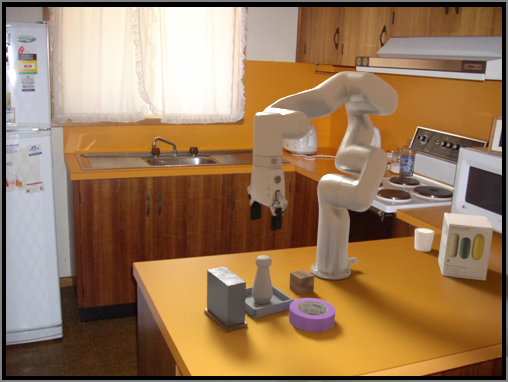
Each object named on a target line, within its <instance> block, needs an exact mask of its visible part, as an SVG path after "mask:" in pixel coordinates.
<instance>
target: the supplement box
mask: <svg viewBox="0 0 508 382" xmlns="http://www.w3.org/2000/svg"><path fill="white" fill-rule="evenodd" d="M493 233H494V227H493V225H492V224H491V222H490V221H489V219H488V217H487V216H486V215H477V214H475V215H474V214H473V215H472V214H466V213H453V212H451V213H450V212H444V214H443V221H442V227H441V234H440V235H441V237H440V242H439V243H440V244H439V251H438V258H437V259H438V260H437V262H438V265H439V268H440V273H441V275H442V276H443V277H450V278H458V279H459V278H460V279H461V278H462V279H468V280H477V281H487V273H488V268H489V267H488V266H489V260H490V253H491V245H492V241H493Z"/></svg>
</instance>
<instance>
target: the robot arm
mask: <svg viewBox="0 0 508 382" xmlns="http://www.w3.org/2000/svg"><path fill="white" fill-rule="evenodd" d="M398 105H399V95H398V92H397V91H396V89H395V88H394V87H393V86H392V85H390V84H389V83H387V82H386V81H385V80H384V79H382V78H381V77H379V76H378V75H376V74H375V73H372V72H369V71H355V70H354V71H351V70H349V71H348V70H347V71H346V70H345V71H340V72H338V73H335V74H334V75H333V76H331V77H329V78H328V79H326V80H324V81H323V82H322V83H319V85H316V86H315V87H314V88H312V89H308V90H304V91H302V92H298V93H295V94H292V95H288V96H286V97H282V98H280V99H278V100H277V101H275V102H274V103H272V104H270V105H269V106H268V107H266V108H265V109H264V110H263V111H260V112H256V113H255V115H254V116H253V129H252V130H253V134H252V136H253V140H252V167H251V176H250V184H249V185H248V186H247V187H246V190H247V194H248V195H247V196H248V197H247V198H248V199H249V202H248V203H249V207H250V211H249V214H250V215H249V220H251V221H254V220H255V221H256V220H260V219H262V205H263V206H265V207H267V208H269V210H270V212H271V215H270V227H269V228H270V230H271V231H278V230H281V229H282V227H283V226H282V225H283V216H284V214H285V212H286V208H287V206H288V200H287V199H286V184H285V180H286V179H285V172H284V168H283V166H282V165H283V147H284V146H283V145H284V143H283V142H284V140H292V141H298V140H302V139H304V138H305V137H307V135H308V134H309V133H310V131H311V128H312V121H311V119H318V118H325V117H328V116H330V115H332V114H333V113H334V112H336V111H337V110H338V109H340V108H342V106H344V107H345V110H346V111H345V112H346V115H347V128H346V131H345V133H344V136H343V138H342V140H341V143H340V145H339V148H338V150H337V152H336V155H335V157H334V158H335V159H334V166H335V168H336V169H337V170H338V171H340V172H341V173H346V174H349V175H344V174H339V173H327V174H324V175H323V176H322V177H321V178H320V179H319V180H318V183H317V187H316V191H317V192H316V193H317V198H318V199H317V201H318V227H317V241H316V256H315V258H316V259H315V263H313V264H311V266H310V273H311V274H313V275H314V276H316V277H318V278H321V279H324V280H335V281H338V280H344V279H347V278H348V277H350V276H351V274H352V269H351V268H350V267H349V266H351V264H357V263H358V261H359V259H358V258H357V257H356V256H353V257H349V255H348V248H349V238H350V237H349V234H350V225H351V224H350V223H351V222H350V221H351V219H350V214H349V211H353V212H354V211H355V212H358V213H359V212H360V213H363V212H366V211H368V209H369V208H370V207H371V206H372V204H373V202H374V200H375V198H376V196H377V194H378V190H379V188H380V186H381V183H382V181H383V179H384V176H385V174H386V170H387V167H388V166H387V165H388V156H387V154H386V151H385V150H384V149H383V148H381V147H379V146H374V145H372V142H373V139H374V136H375V128H374V124H373V122H372V120H371V118H370V115H373V116H375V115H376V116H381V117H383V116H385V117H386V116H387V117H388V116H390V115H392V114H393V113H395V111H396V110H397V108H398ZM350 175H353V176H358V178H357V177H352V176H350ZM348 210H349V211H348Z"/></svg>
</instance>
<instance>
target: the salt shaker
mask: <svg viewBox="0 0 508 382" xmlns="http://www.w3.org/2000/svg"><path fill="white" fill-rule="evenodd" d="M254 263H255V266H257V267H256V271H255V275H254V281H253V289H252V296H253V299H254V301H255V302H256V303H257V304H261V305H265V304H268V303H269V302H270V300H271V298H272V296H273V290H272V285H273V284H272V279H271V273H270V267H271V265H272V258H271V257H270V256H269V255H266V254H265V255H264V254H262V255H258V256H257V257H256V258H255V262H254Z"/></svg>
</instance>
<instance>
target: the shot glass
mask: <svg viewBox="0 0 508 382" xmlns="http://www.w3.org/2000/svg"><path fill="white" fill-rule="evenodd" d="M435 233H436V232H435V230H433V229H430V228H427V227H417V228H416V227H415V228H414V249H415V250H416V251H419V252H423V253H424V252H425V253H426V252H430V251H431V250H432V245H433V242H434V238H435Z"/></svg>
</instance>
